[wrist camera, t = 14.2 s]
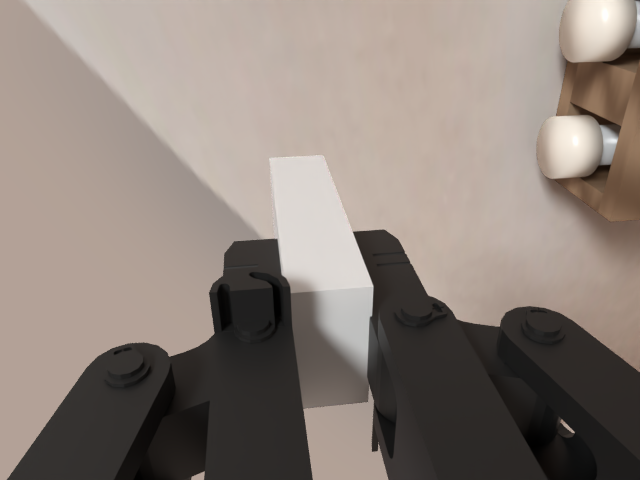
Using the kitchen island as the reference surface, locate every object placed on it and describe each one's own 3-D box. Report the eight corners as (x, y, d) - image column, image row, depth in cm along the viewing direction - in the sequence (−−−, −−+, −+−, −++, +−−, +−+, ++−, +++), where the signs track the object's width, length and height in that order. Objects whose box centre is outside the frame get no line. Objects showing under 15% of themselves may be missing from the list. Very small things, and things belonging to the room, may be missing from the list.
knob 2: (532, 165, 43) (561, 188, 39) (543, 109, 40) (576, 126, 36) (680, 157, 44) (723, 178, 40) (698, 101, 42) (747, 118, 38)
